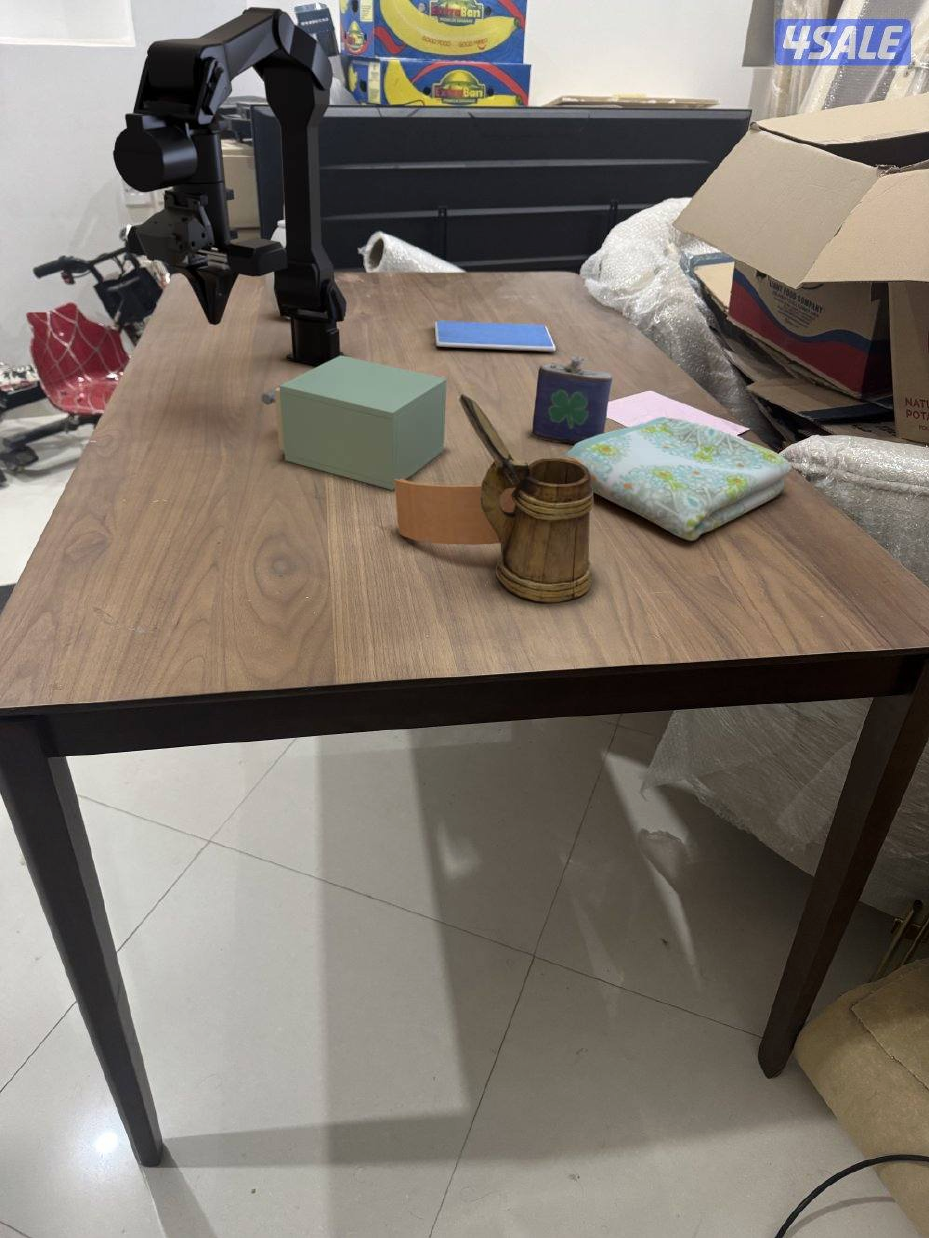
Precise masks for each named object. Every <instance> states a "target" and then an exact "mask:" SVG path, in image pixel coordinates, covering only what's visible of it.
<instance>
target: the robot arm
mask: <svg viewBox="0 0 929 1238" xmlns="http://www.w3.org/2000/svg"><path fill="white" fill-rule="evenodd" d="M146 54H147V55H146V58H145V59H144V63H143V68H142V72H141V77H140V79H139V80H140V81H139V84H138V89H137V93H136V97H135V102H134V106H133V111H132V112H129V113H125V115H124V119H125V126H126V128H124V129H123V130H121V132H119V133H118V135H117V136H116V139H115V142H114V148H113V151H112V156H113V158H112V159H113V163H114V165H115V168H116V171H117V172H118V175H119V176H120V177H121V179H122V180H123V182H124V183H125V184H127V185H128V187H130V188H131V189H132V190H134V191H137V192H140V193H144V194H145V193H151V192H157V191H159V190H163V189H165V190H164V194H163V209H162V210H160V211H158V212H155V213H154V214H152V215H151V216H150V217H149V218H147V220H145V221H143V222H142V223H141V224H136V225H131V226H130V228H129V230H128V233H127V235H126V239H127V245H128V251H129V253H130V254H134V255H137V256H138V255H139V256H144V257H146V259H147V260H148V261H151V262H155V261H159V262H164V263H166V264H167V265H168V266H169V267H170V269H171V268H172V269H174V270H176V271H177V272H178V273H180V274H181V275H183V276H184V277H185V278H186V279H187V281H188V283H189V285H190V286H191V288H192V290H193V292H194V294H195V296H196V299H197V300H198V303H199V305H200V307H201V309H202V311H203V314H204V315H205V317H206V320H207V322H208V324H209V325H213V326H217V325H219V324H220V323H221V322H222V319H223V316H224V313H225V310H226V307H227V304H228V301H229V299H230V296H231V293H232V290H233V288H234V286H235V283H236V281H237V279H238V277H239V275H241V276H242V275H243V276H248V277H262V276H265V274H269V273H272V272H274V293H275V296H276V300H277V304H278V308H279V311H280V312H279V315H280V317H281V318H286V317H290V319H289V322H290V323H289V324H290V337H291V351H292V352H291V353H288V354H286V356H285V357H286V358H285V359H286V360H289V361H294V362H298V363H302V364H307V365H311V366H315V367H318V366H320V365H322V364H324V363H326V362H328V361H330V360H332V359H334V358H337V357H339V356H341V355H342V356H345V355H344V354H345V353H344V352H343V351H341V346H340V345H341V341H340V340H341V339H340V338H341V337H340V329H339V328H338V323H343V322H344V321H345V317H346V312H347V300H346V298H345V297H344V295H343V293H342V291H341V289H340V287H339V286H338V284H337V283H336V281H335V269H334V264H333V262H332V260H331V259H330V257H329V256H328V254H327V252H326V250H325V248H324V246H323V245H322V224H321V223H322V220H321V189H320V187H321V185H320V154H319V150H320V149H319V126H320V124H321V122H322V120H323V118H324V116H325V114H326V112H327V110H328V108H329V106H330V103H331V102H330V101H331V88H332V85H333V77H334V75H333V66H332V62H331V60H330V58H329V57H328V55H327V53H326V52H325V50H324V49H323V47H322V46H321V44H320V42H319V41H318V40H317V39H316V38H315V37H313V36H312V35H310V34H309V33H308V32H306V31H305V30H304V29H302V28H301V27H299V26H298V25H297V24H295V23H294V21H293V19H292V18H291V16H290V15H289V13H288V12H287V11H284V10H283V9H281V8H277V7H276V8H275V7H259V6H250V7H248V8H247V9H246V8H245V9H244V10H243V11H242V13H241V14H240V15H238V16H236V17H234V18H233V19H231V20H229V21H227V22H225V23H224V24H222V25H220V26H218V27H216V28H214V29H212V30H210V31H208V32H207V33H205V34H203V35H201V36H199V37H195V38H170V39H169V38H168V39H159V40H155V41H153V42H152V43H151V44H150V45H149V46H148V49H147V51H146ZM251 68H252V69H253V70H254V71H255V72H256V74H257V76H259V78H260V79H261V81H262V82H263V86H264V94H265V99H266V101H265V102H266V103H267V104H268V107H269V108H270V109H271V112H272V114H273V115H274V117H275V119H276V121H277V122H278V125H279V130H280V151H281V166H282V167H281V170H282V171H281V172H282V184H283V185H282V188H283V189H282V190H283V212H284V211H285V231H286V246H285V248H284V247H283V246H282V244H281V243H280V242H278V241H272V240H271V239H265V238H260V237H252V238H248V239H245V240H241V241H237V242H232V241H233V240H237V239H239V233H238V228H234V227H230V218H229V205H228V202H229V201H233V200H235V191H234V188H227V186H226V185H227V184H226V175H225V166H224V157H223V146H222V137H221V132H222V131H228V130H229V127H230V125H229V123H228V121H227V120H226V119H225V117H223V116H222V115H221V114H220V113H219V112H218V109H219V108H220V107H221V106H222V105H223V104H224V102H225V101H226V100H227V99H228V97H229V96H230V95H231V94H232V93H233V86H232V85H233V84H232V82H233V80H234V79H235V78H236V77H238V76H240V75H241V74H243V73H244V72H246V71H247V70H249V69H251ZM169 188H171V189H169Z"/></svg>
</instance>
